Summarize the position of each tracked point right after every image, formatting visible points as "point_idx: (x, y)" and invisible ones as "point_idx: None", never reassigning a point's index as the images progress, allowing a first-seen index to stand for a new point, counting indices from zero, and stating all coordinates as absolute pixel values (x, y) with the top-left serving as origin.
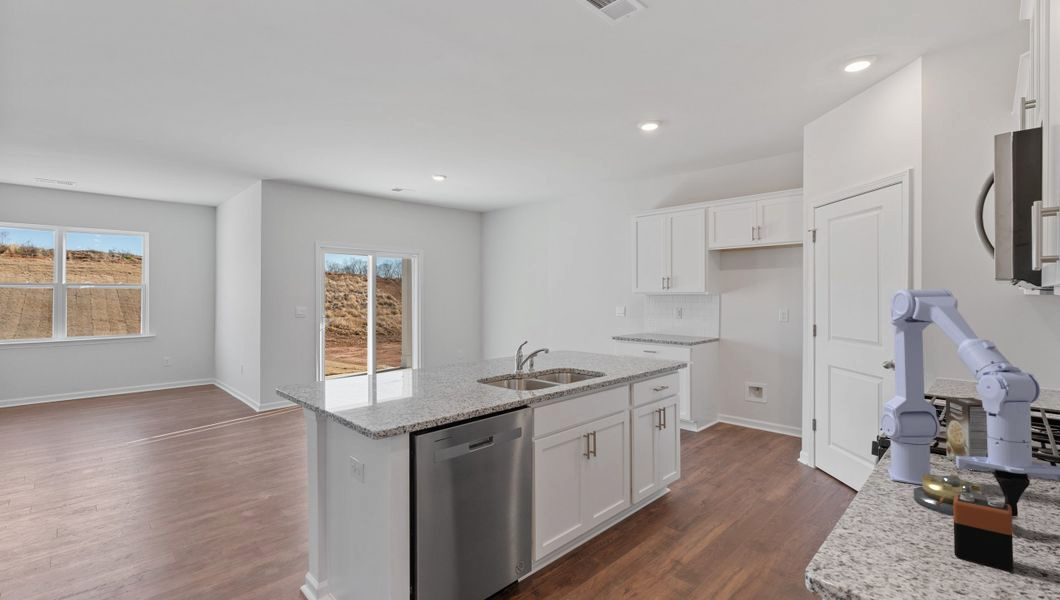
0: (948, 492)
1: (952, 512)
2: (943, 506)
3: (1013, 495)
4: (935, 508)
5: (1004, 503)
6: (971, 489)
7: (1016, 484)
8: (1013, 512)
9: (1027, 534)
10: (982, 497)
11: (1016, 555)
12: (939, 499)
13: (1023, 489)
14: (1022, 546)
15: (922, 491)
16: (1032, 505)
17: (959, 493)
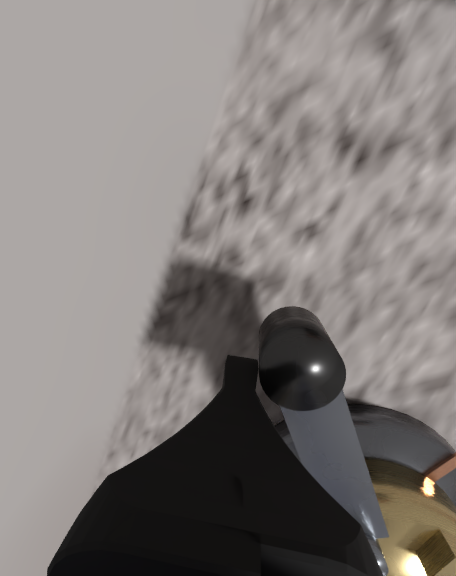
0: (440, 520)
1: (399, 418)
2: (434, 443)
3: (239, 417)
4: (445, 441)
5: (283, 384)
6: None
7: (215, 492)
8: (242, 362)
9: (210, 319)
10: (335, 467)
11: (340, 75)
12: (438, 489)
13: (167, 449)
14: (273, 194)
15: None
16: None
17: (397, 513)
